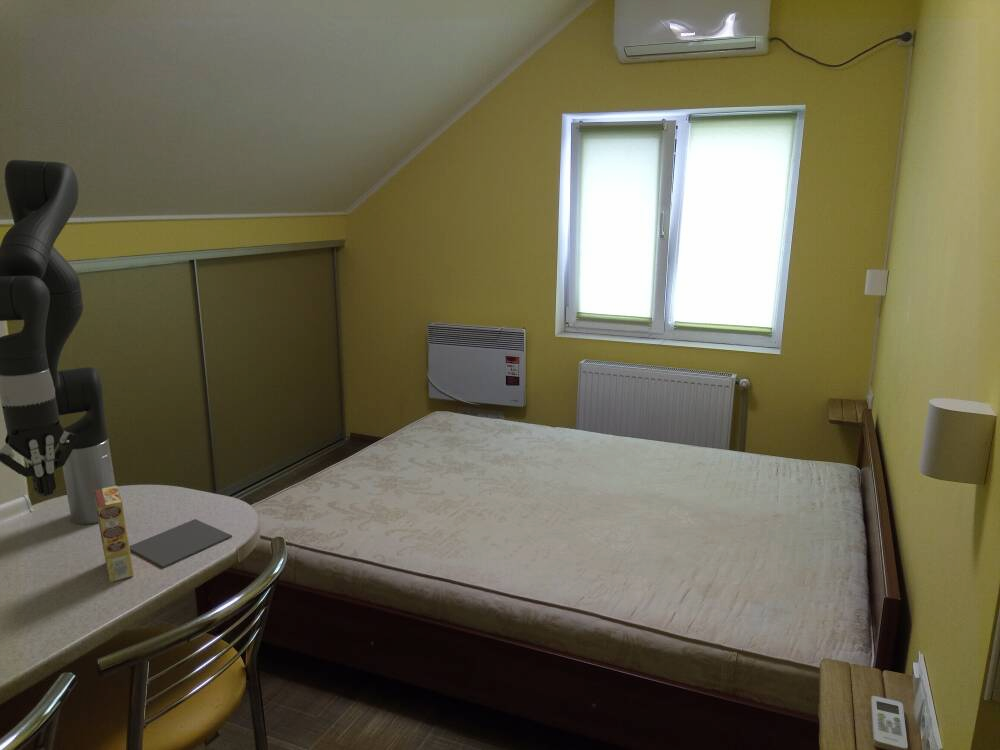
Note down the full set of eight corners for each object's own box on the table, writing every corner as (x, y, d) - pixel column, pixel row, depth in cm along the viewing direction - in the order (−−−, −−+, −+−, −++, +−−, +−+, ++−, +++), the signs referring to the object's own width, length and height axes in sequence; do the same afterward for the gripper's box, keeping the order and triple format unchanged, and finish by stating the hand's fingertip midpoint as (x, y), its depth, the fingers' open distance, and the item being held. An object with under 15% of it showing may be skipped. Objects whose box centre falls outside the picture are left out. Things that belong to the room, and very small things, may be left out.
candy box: (134, 576, 130) (123, 501, 126) (109, 583, 128) (96, 506, 124) (128, 556, 138) (118, 484, 134) (104, 562, 135) (92, 489, 131)
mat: (127, 548, 140) (126, 547, 140) (195, 520, 152) (195, 518, 152) (163, 568, 133) (163, 566, 133) (232, 537, 145) (231, 535, 145)
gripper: (60, 385, 123) (75, 476, 127) (-28, 403, 112) (-8, 502, 117) (81, 391, 119) (96, 486, 123) (-8, 411, 108) (12, 514, 113)
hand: (46, 494), depth 120 cm, fingers closed
